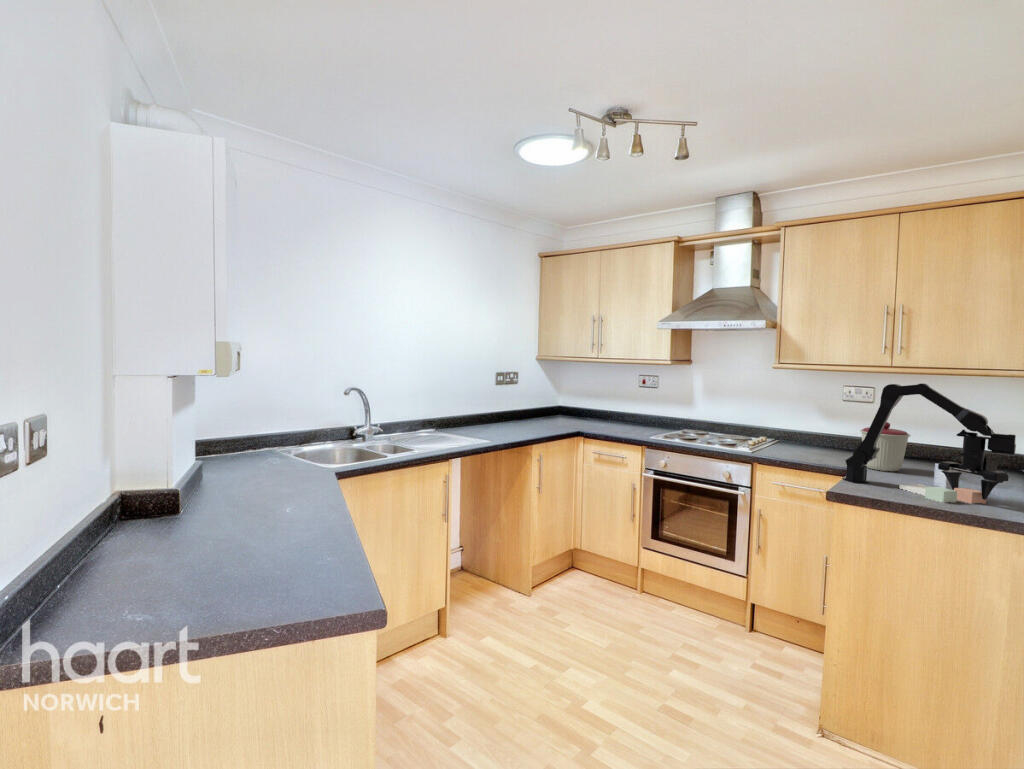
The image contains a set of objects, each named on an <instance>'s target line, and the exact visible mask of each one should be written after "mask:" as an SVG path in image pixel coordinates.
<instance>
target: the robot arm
mask: <svg viewBox="0 0 1024 769" xmlns="http://www.w3.org/2000/svg"><path fill="white" fill-rule="evenodd" d="M881 391H882V392H881V396H880V403H879V407H878V409H877V411H876V412H875V416H874V418H873V420H872V422H871V424H870V426H869V427H870V428H869V430H868V432H867V435H866V437H865V439H864V440H863V441H862V440H861V442H860V443H859V445H857V447H856V448H855V450H854V451H853V453H852V456H850V457H848V458H847V459H845V464H846V470H845V471H846V472H845V477H842V480H844V479H846V480H845V481H848V482H850V483H854V484H866V483H867V484H870V481H869V480H867V476H868V469H867V468H868V467H867V466H865V465H867V463H868V462H869V461H872V460H873V459H875V458H876V455H877V453H878V451H879V450H880V448H876V445H877V441H878V439H879V437H880V435H881V432H882V430H883V428H884V426H885V424H886V422H887V421H888V420H889V417H890V415H892V414H891V413H892V411H893V410H894V408H895V407H896V406H897V405H898V404H899V402H900V401H901V400H902V398H903V397H904V396H914V395H920V396H921V397H923V398H925V399H926V400H928V401H929V402H932V403H933V404H935V405H936V406H937V407H939V408H940V409H942V410H943V411H946V412H947V413H949V414H950V415H951V416H953V417H954V418H955V419H956V420H957V421H958V422H959V423H960V424H961V425H962V426H963V427H965V428H966V429H967V430H969V431H970V432H969V431H967V430H966V429H965V428H964V429H962V430H961V431H959V432H958V433H956V437H962V438H963V440H962V442H963V443H962V452H959V453H958V456H961V462H960V463H959V462H955V461H940V462H939V463H937V464H938V469H940V470H943V471H941V472H942V473H944V474H945V476H946V478H947V479H948V481H949V483H950V485H951V487H952V489H953V490H954V488H958V484H959V485H960V479H959V477H960V476H962V474H963V473H966V474H970V475H971V474H972V475H975V476H976V475H977V476H981V477H982V478H983V479H980V484H981V485H980V486H981V490H980V491H982V499H983V500H986V501H987V499H988V498H989V496H990V494H991V492H992V491H993V490H994V488H995V487H996V486H998V484H1003V483H1004V482H1009V475H1008V473H1007V472H1005V471H1000V470H997V468H998V466H999V464H998V463H996V462H994V461H992V460H989V456H988V454H986V444H987V450H989V451H991V453H992V454H996V455H997V454H998V455H1005V456H1013V457H1014V456H1015V455H1016V448H1017V444H1016V434H1011V433H1009V434H1006V433H995V431H994V429H992V428H991V427H990V426H989V425H988V424H989V421H988V418H987V417H986V416H985V415H983V414H981V413H978V412H976V411H973V410H971V409H969V408H966V407H963V406H961V405H959V404H958V403H956V402H955V401H953V400H951V398H948V397H947V396H945V395H943V394H942V393H940V392H938V391H937V390H936V389H934V388H932V387H930V386H929V385H928V384H926V383H917V384H909V385H901V384H898V383H890V384H887V385H885V386H884V387H883V389H882V390H881ZM978 433H979V434H980V435H979V434H978ZM958 471H960V472H958Z"/></svg>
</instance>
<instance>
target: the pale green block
mask: <svg viewBox="0 0 1024 769" xmlns="http://www.w3.org/2000/svg"><path fill="white" fill-rule="evenodd" d="M927 498H928V499H927ZM924 499H927V500H930V499H931V501H934V500H935V502H938V501H939V502H938V503H942V502H943V504H946V502H947V503H948V502H951V503H957V501H958V500H957V491H954V490H950V489H946V488H942V487H938V486H929V487H926V490H925V496H924ZM948 504H949V503H948Z"/></svg>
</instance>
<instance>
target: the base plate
mask: <svg viewBox="0 0 1024 769" xmlns="http://www.w3.org/2000/svg"><path fill="white" fill-rule="evenodd" d="M926 487H930V486H929V485H925V484H919V483H918V484H899V488H900V489H899V488H898V489H899V490H901V489H903V490H902V491H905V490H907V491H906V492H909V491H910V493H913V494H916V493H917V494H916V495H920V494H921V496H924V497H925V490H926Z"/></svg>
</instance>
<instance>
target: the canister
mask: <svg viewBox="0 0 1024 769" xmlns="http://www.w3.org/2000/svg"><path fill="white" fill-rule="evenodd" d="M890 427H891V423H890V422H886V424H885V426H884V428H883V430H882V432H881V435H880V437H879V439H878V441H877V445H876V448H880V450H879V451H878V453H877V455H876V458H875V459H873V460H872V461H869V462H868V463H867V465H865V466H867V468H868V469H870V470H874V469H875V471H879V470H880V472H888V471H890V473H891V472H899V471H900V470H901V468H902V467H903V463H904V458H905V453H906V450H907V449H906V448H907V446H908V440H909V437H911V434H909V433H908V432H907V431H906V430H905V431H904V430H901V429H896V428H895V429H894V428H890ZM869 428H870V426H869V427H863V429H859V432H861V442H862V441H863V440H864V439H865V437H866V435H867V432H868V430H869Z"/></svg>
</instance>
